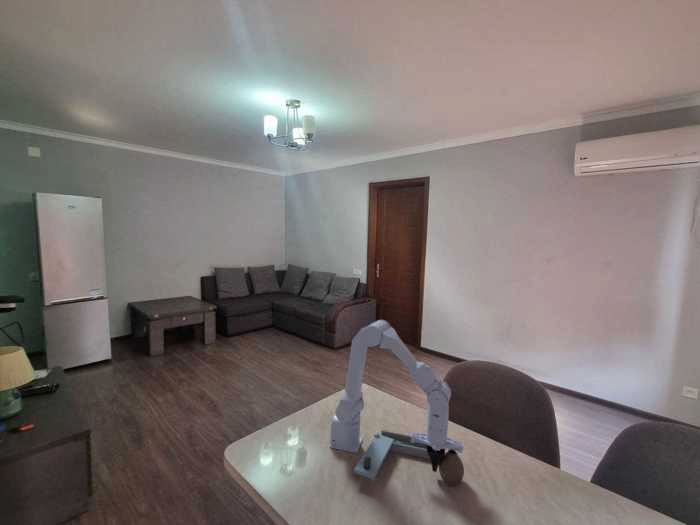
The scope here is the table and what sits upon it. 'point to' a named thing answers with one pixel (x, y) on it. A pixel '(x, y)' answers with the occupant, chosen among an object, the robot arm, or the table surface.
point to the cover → (374, 456)
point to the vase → (451, 468)
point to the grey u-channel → (406, 445)
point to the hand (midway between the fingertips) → (434, 469)
